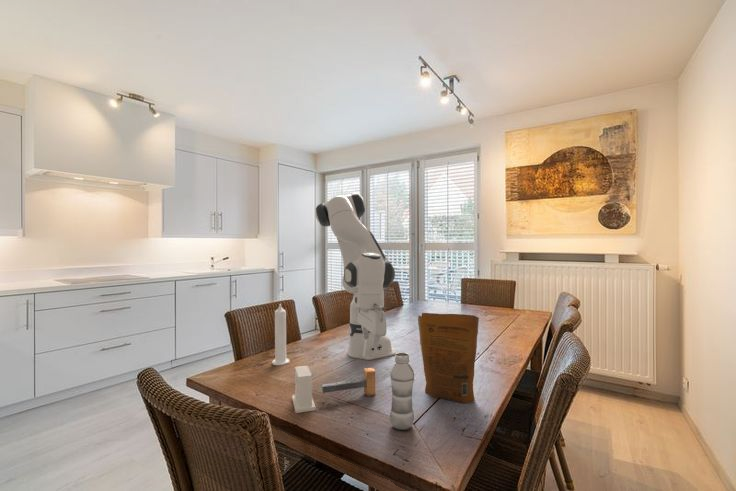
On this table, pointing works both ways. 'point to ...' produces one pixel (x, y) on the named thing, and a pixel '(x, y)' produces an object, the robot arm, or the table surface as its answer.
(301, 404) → the block
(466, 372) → the pancake mix bag
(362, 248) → the robot arm
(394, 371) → the plastic bottle
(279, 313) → the candle
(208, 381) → the table surface
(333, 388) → the wooden mallet
